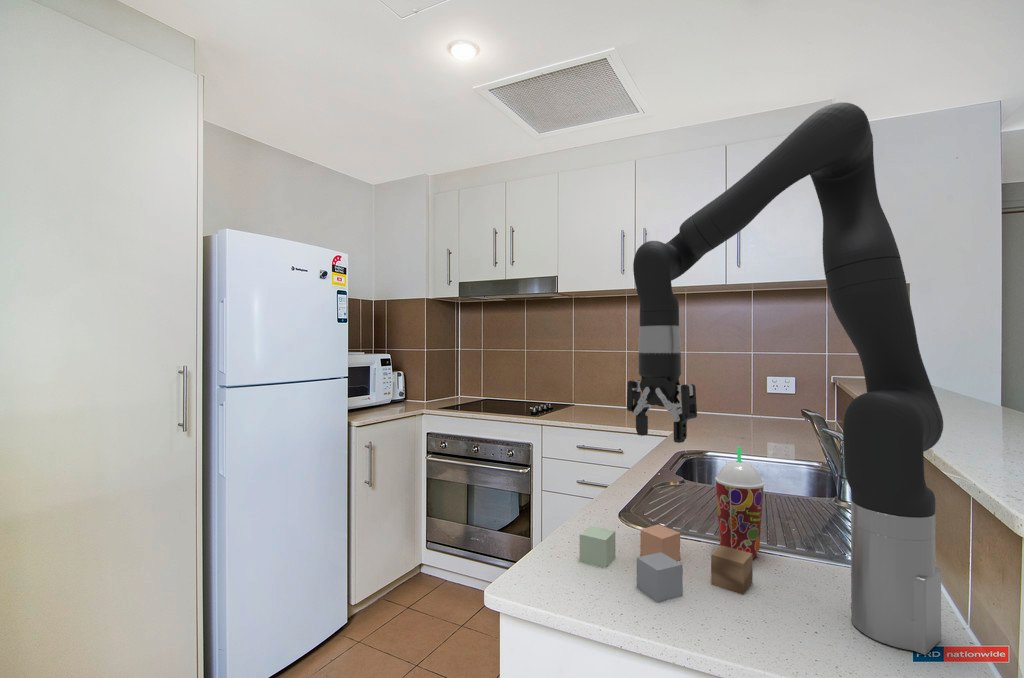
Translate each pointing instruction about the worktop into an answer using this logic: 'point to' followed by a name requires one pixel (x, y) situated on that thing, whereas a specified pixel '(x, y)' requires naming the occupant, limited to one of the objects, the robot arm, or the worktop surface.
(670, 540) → the terracotta block
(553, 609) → the worktop surface
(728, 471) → the smoothie
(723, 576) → the walnut block
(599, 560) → the sage block
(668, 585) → the grey block
